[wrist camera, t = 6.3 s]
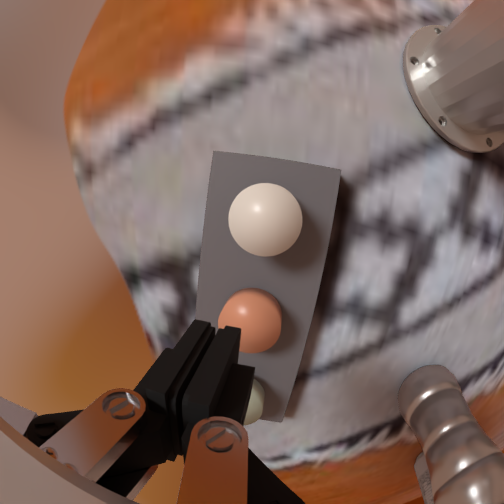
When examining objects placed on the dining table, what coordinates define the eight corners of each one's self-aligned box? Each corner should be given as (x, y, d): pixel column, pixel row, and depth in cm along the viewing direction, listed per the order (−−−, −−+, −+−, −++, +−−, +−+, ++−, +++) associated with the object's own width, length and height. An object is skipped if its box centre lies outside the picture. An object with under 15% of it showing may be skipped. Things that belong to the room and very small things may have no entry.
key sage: (268, 379, 22) (266, 394, 20) (260, 414, 23) (257, 429, 21) (216, 368, 22) (210, 383, 20) (212, 404, 23) (207, 419, 21)
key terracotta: (286, 293, 21) (286, 304, 19) (276, 344, 22) (274, 358, 20) (227, 282, 21) (221, 292, 19) (221, 333, 22) (215, 346, 20)
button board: (336, 171, 20) (341, 169, 18) (282, 409, 26) (281, 422, 24) (219, 153, 21) (213, 150, 19) (196, 392, 27) (191, 404, 25)
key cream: (305, 189, 18) (307, 189, 16) (294, 254, 19) (295, 262, 17) (239, 179, 18) (233, 178, 17) (230, 243, 20) (224, 249, 18)
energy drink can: (435, 463, 26) (458, 534, 12) (405, 467, 27) (424, 546, 12) (456, 438, 25) (489, 512, 10) (426, 442, 25) (456, 526, 11)
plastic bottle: (412, 351, 23) (502, 523, 3) (457, 361, 22) (544, 496, 3) (381, 400, 24) (425, 567, 5) (426, 406, 24) (481, 544, 5)
